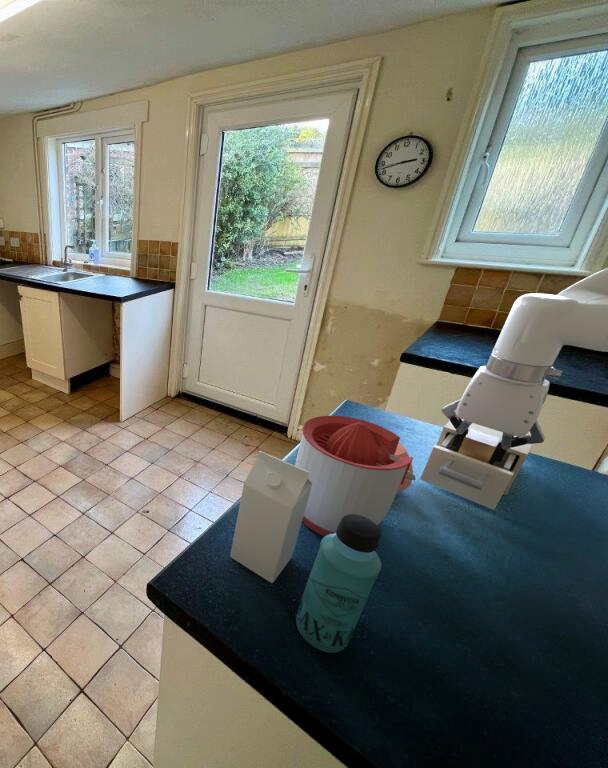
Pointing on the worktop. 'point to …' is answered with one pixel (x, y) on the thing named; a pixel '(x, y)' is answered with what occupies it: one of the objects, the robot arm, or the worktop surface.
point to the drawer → (468, 474)
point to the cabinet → (519, 450)
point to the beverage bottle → (339, 584)
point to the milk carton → (270, 515)
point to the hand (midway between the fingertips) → (474, 455)
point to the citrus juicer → (349, 470)
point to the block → (479, 445)
